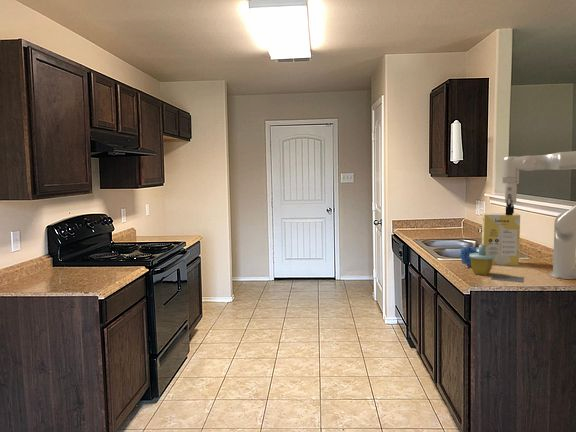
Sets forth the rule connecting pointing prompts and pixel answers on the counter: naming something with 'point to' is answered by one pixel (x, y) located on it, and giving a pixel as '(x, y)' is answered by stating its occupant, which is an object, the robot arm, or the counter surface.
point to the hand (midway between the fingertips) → (509, 214)
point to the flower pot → (481, 266)
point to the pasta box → (501, 237)
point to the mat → (507, 278)
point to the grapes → (467, 255)
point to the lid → (482, 254)
